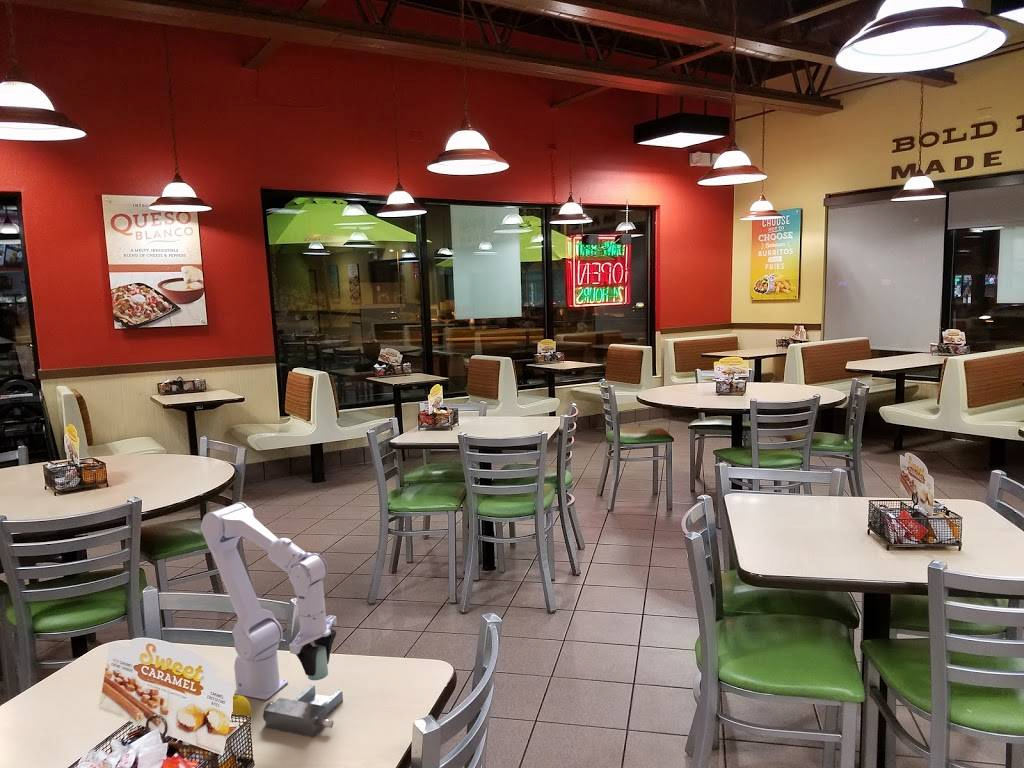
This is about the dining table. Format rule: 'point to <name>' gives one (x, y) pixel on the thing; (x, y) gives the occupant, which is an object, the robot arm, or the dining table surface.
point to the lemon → (241, 706)
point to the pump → (320, 664)
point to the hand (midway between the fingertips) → (317, 669)
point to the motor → (302, 712)
